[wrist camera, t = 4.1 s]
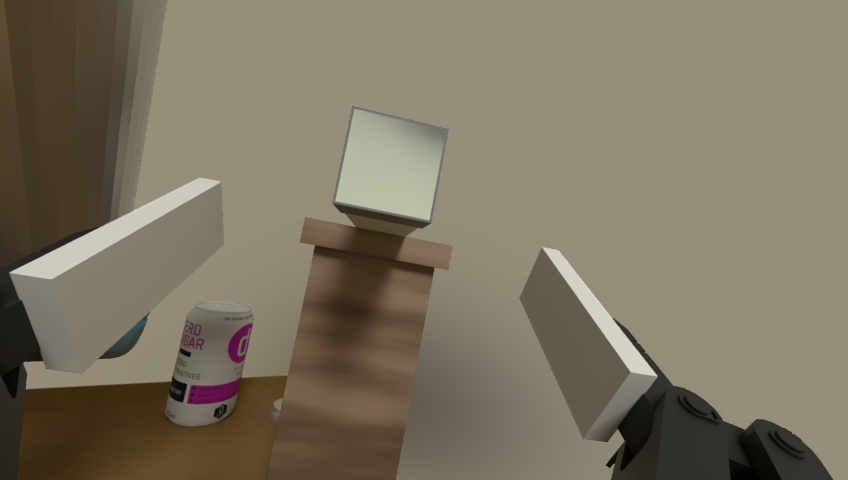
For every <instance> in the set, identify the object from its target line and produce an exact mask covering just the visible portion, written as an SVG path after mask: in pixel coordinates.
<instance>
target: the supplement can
mask: <svg viewBox="0 0 848 480" xmlns="http://www.w3.org/2000/svg"><path fill="white" fill-rule="evenodd" d="M253 320H254V318H253V315H252V312H251V308H250V307H249V306H246V305H242V304H238V303H231V302H221V301H204V302H198V303H196V304H195V306H194V308H193V309H192V310H191V311H190V312H189V313H188V314H187V317H186V321H185V326H184V330H183V334H182V339H181V343H180V348H179V352H178V356H177V360H176V364H175V369H174V373H173V377H172V382H171V386H170V390H169V394H168V399H167V403H166V407H165V415H166V416H167V417H168V418H169V419H170V420H171V421H172V422H173V423H175V424H178V425H181V426H191V427H195V426H205V425H210V424H214V423H216V422H219V421H221V420H223V419H224V418H225V417H227V416H228V415H229V414H230V413H231V412H233V410H234V407H235V403H236V399H237V394H238V390H239V385H240V380H241V375H242V371H243V366H244V362H245V357H246V353H247V348H248V343H249V339H250V335H251V330H252V325H253Z"/></svg>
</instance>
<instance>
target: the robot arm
mask: <svg viewBox="0 0 848 480" xmlns="http://www.w3.org/2000/svg"><path fill="white" fill-rule="evenodd" d="M166 5H167V0H0V480H16V479H17V469H18V459H19V449H20V439H21V429H22V419H23V409H24V399H25V389H26V379H27V372H26V370H25V367H24V365H23V362H31V361H44V364H45V366H46V369H52V370H60V371H67V372H75V373H82V372H84V371H85V370H86V369H87V368H88V367H89V366H90V365H92V364H93V363H94V362H95V361H96V360H97V359H109V358H116V357H120V356H122V355H124V354H126V353H127V352H129V351H130V350H131V349H132V348H133V347H134V346H135V344H136V343H137V341H138V340H139V338H140V336H141V334H142V332H143V330H144V327H145V325H146V322H147V316H148V315H149V313H150V311H151V310H152V309H153V308H154V307H156V306H157V305H158V304H159V303H160V302H161V301H162V300H163V299H164V298H165V297H166V296H168V295H169V294H170V293H171V292H172V291H173V290H174V289H175V288H176V287H178V285H180V284H181V283H182V282H183V281H184V280H185V279H186V278H187V277H189V276H190V274H192V273H193V272H194V271H195V270H196V269H197V268H199V267H200V266H201V265H202V264H203V263H204V262H205V261H206V260H207V259H208V258H209V257H211V256H212V255H213V254H214V253H215V252H216V251H217V250H218V249H219V248H221V247H222V246H223V245H224V236H223V235H224V234H223V211H222V190H221V189H222V188H221V182H219V181H214V180H209V179H205V178H198V179H196V180H194V181H192V182H190V183H188V184H186V185H184V186H182V187H180V188H178V189H176V190H174V191H172V192H170V193H168V194H166V195H164V196H162V197H160V198H158V199H156V200H154V201H152V202H150V203H148V204H146V205H144V206H142V207H140V208H138V209H136V210H134V211H133V209H134V203H135V197H136V190H137V184H138V178H139V172H140V166H141V159H142V153H143V147H144V141H145V135H146V129H147V123H148V116H149V110H150V104H151V98H152V92H153V86H154V79H155V73H156V67H157V61H158V55H159V48H160V42H161V36H162V30H163V24H164V17H165V11H166ZM520 300H521V303H522V305H523V307H524V309H525V312H526V314H527V316H528V318H529V320H530V322H531V325H532V327H533V329H534V331H535V333H536V336H537V338H538V340H539V342H540V344H541V347H542V349H543V351H544V354H545V356H546V358H547V360H548V362H549V365H550V367H551V369H552V371H553V373H554V376H555V378H556V380H557V382H558V384H559V387H560V389H561V391H562V393H563V396H564V398H565V400H566V402H567V404H568V406H569V409H570V411H571V413H572V416H573V417H574V420H575V422H576V424H577V427H578V429H579V431H580V433H581V435H582V438H583V439H587V440H595V441H603V442H608V441H609V439H610V438H611V437H612V435H613V434H614V433H615V432H616V430H617V429H618V430H619V431H620V433H621V435H622V437H623V438H624V440H625V441H624V443H623V444H622V445H621V446H620V448H619V449H618V450H617V451H616V453H615V454H614V455H613V456H612V457H611V459H610V460H609V461H608V463H607V464H606V466H608V467H609V468H610V467H611V466H612V465H613V464H615V466H614V470H613V474H612V478H611V480H833V479H832V477H831V476H830V474H829V473H828V471H827V470H826V468H825V467H824V466H823V464H822V462H821V461H820V460H819V458H818V457H817V456H816V455H815V453H814V452H813V451H812V450H811V449H810V448H809V447H808V446H807V445H806V444H804V443H803V442H802V440H801V439H799V438H798V437H797V436H796V435H794V434H792V432H790V431H788V430H787V429H785V428H782V427H780V426H778V425H776V424H775V423H772V422H769V421H766V420H763V419H757V420H755V421H754V422H753V423H752V424H751V425H750V426H749V427H748V428H747V429H746V430H744V429H742V428H739V427H737V426H734V425H732V424H729V423H727V422H724V421H723V420H722V418H721V417H720V415H719V414H718V413H717V411H716V410H715V409H714V408H713V407H712V406H711V405H709V404H708V403H707V402H706V401H705V400H704V399H702V398H701V397H699V396H698V395H696V394H695V393H693V392H691V391H689V390H687V389H685V388H681V387H677V386H673V385H672V384H671V383H670V381H669V380H668V379H667V378H666V376H665V375H664V374H663V373H662V371H661V370H660V369H659V368H658V366H657V365H656V364H655V363H654V361H653V360H652V359H651V358H650V357H649V355H648V354H647V353H645V350H644V349H643V348H642V347H641V345H640V344H638V343H637V341H636V339H635V338H634V337H633V336H632V334H631V333H630V332H629V331H628V330H627V329H626V328H625V327H624V326H623V325H621V324H620V323H619V322H618V321H616V320H615V319H613V318H611V316H610V315H609V314H608V313H607V311H606V310H605V309H604V308H603V306H602V305H601V304H600V302H599V301H598V300H597V299H596V297H595V296H594V295H593V293H592V292H591V291H590V290H589V288H588V287H587V286H586V285H585V284H584V282H583V281H582V280H581V278H580V277H579V276H578V274H577V273H576V272H575V271H574V270H573V268H572V267H571V266H570V264H569V263H568V262H567V261H566V259H565V258H564V257H563V255H562V254H561V253H560V252H559V250H554V249H549V248H544V247H542V248H541V251H540V253H539V255H538V257H537V260H536V262H535V264H534V266H533V269H532V271H531V274H530V275H529V278H528V280H527V283H526V285H525V287H524V289H523V291H522V294H521V296H520Z"/></svg>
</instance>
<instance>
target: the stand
mask: <svg viewBox="0 0 848 480" xmlns="http://www.w3.org/2000/svg"><path fill="white" fill-rule="evenodd" d="M300 242H301V243H306V244H312V245H315V249H314V254H313V258H312V263H311V268H310V273H309V277H308V282H307V287H306V292H305V297H304V302H303V307H302V311H301V316H300V321H299V325H298V331H297V335H296V340H295V345H294V349H293V354H292V359H291V363H290V369H289V373H288V378H287V383H286V387H285V392H284V397H283V402H282V406H281V411H280V416H279V421H278V426H277V430H276V435H275V440H274V445H273V449H272V454H271V459H270V464H269V469H268V473H267V478H266V480H396V475H397V469H398V464H399V459H400V453H401V448H402V442H403V437H404V431H405V426H406V420H407V414H408V409H409V403H410V398H411V393H412V387H413V381H414V376H415V371H416V365H417V360H418V355H419V349H420V343H421V338H422V333H423V327H424V322H425V316H426V311H427V306H428V300H429V295H430V289H431V284H432V278H433V273H434V267H436V268H441V269H446V270H448V269H449V263H450V258H451V252H452V246H450V245H444V244H440V243H434V242H429V241H424V240H419V239H414V238H409V237H404V236H399V235H393V234H388V233H383V232H378V231H373V230H368V229H363V228H358V227H352V226H347V225H342V224H337V223H332V222H327V221H322V220H316V219H311V218H306V217H305V221H304V226H303V230H302V234H301V239H300Z"/></svg>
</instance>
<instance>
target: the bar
mask: <svg viewBox="0 0 848 480" xmlns="http://www.w3.org/2000/svg"><path fill="white" fill-rule="evenodd" d="M448 130H449V129H446V128H442V127H438V126H434V125H429V124H425V123H421V122H417V121H413V120H409V119H405V118H400V117H396V116H392V115H388V114H384V113H380V112H376V111H371V110H367V109H363V108H359V107H354V106H352V110H351V115H350V120H349V125H348V130H347V135H346V140H345V144H344V149H343V154H342V159H341V163H340V168H339V173H338V178H337V183H336V188H335V193H334V198H333V202H332V203H333V204H334V206H335V207H336V208H337V209H338V210H339V211H340V212H342V213H345V214H346V215H347V216H348V218H349V219H350V220H351V221H352V223H353V224H354V225H355V226H356V227H358V228H363V229H368V230H373V231H378V232H383V233H388V234H393V235H399V236H404V237H406V236H407V235H408V234H410V233H412V232H413V231H414V230H416V229H417V228H424V227H426V226H427V225H429V224H431V222H432V216H433V211H434V205H435V200H436V194H437V189H438V184H439V179H440V173H441V168H442V162H443V157H444V152H445V146H446V141H447V135H448Z"/></svg>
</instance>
